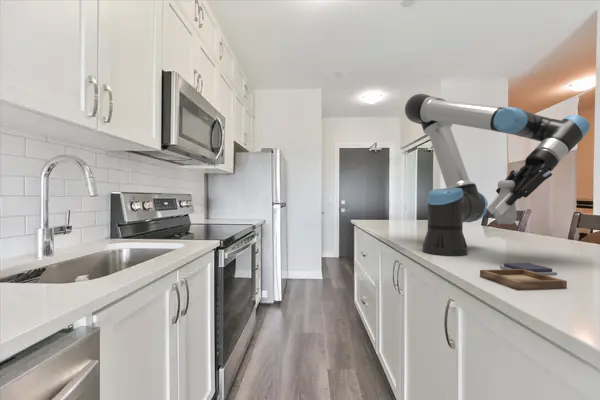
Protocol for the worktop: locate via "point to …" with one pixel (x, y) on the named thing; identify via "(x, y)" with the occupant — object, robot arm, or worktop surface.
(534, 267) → the ink pad
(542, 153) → the robot arm
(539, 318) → the worktop surface
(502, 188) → the salt shaker
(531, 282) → the tray
